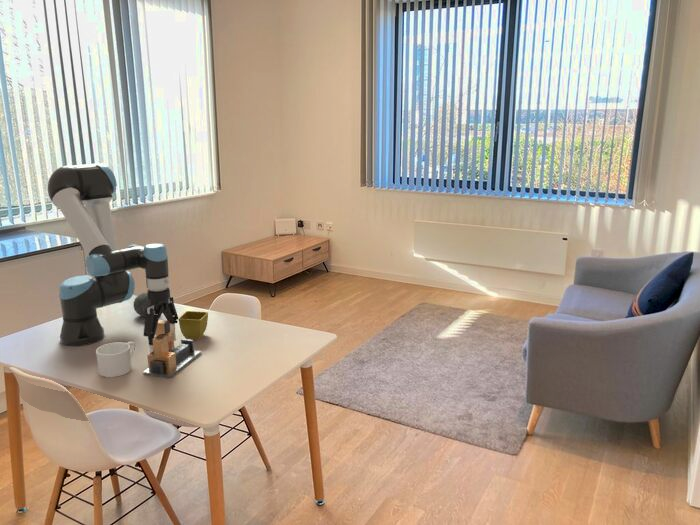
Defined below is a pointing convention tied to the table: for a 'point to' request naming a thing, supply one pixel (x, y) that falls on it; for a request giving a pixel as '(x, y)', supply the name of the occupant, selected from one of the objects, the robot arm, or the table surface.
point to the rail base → (169, 357)
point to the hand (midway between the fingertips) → (163, 346)
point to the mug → (114, 358)
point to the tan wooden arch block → (165, 332)
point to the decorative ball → (141, 304)
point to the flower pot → (193, 324)
